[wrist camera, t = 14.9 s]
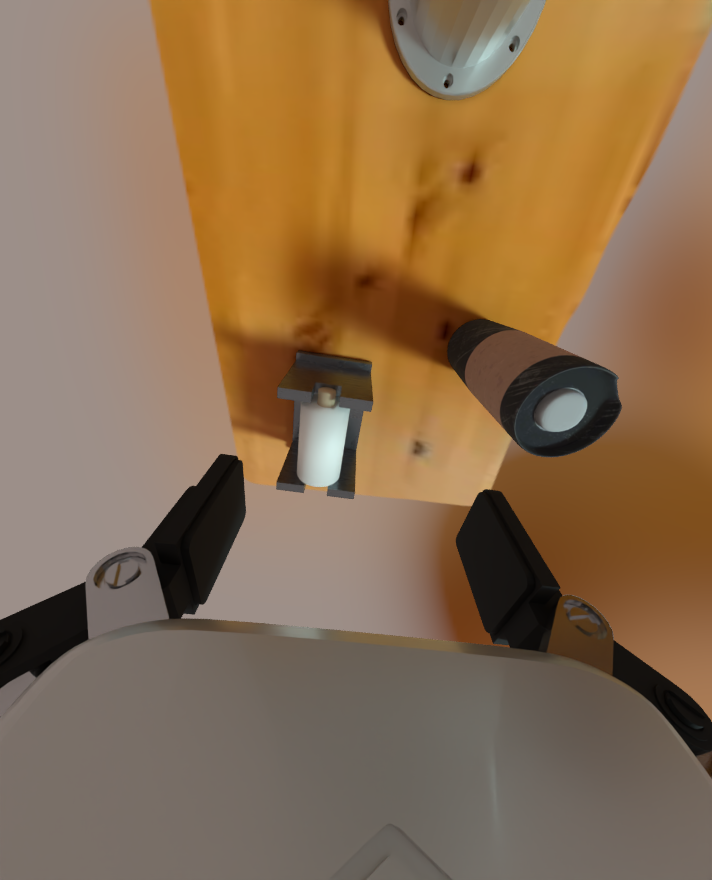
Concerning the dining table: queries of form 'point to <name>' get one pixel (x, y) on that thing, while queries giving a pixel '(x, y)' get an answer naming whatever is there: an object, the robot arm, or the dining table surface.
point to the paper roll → (321, 438)
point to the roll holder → (354, 395)
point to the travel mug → (535, 387)
